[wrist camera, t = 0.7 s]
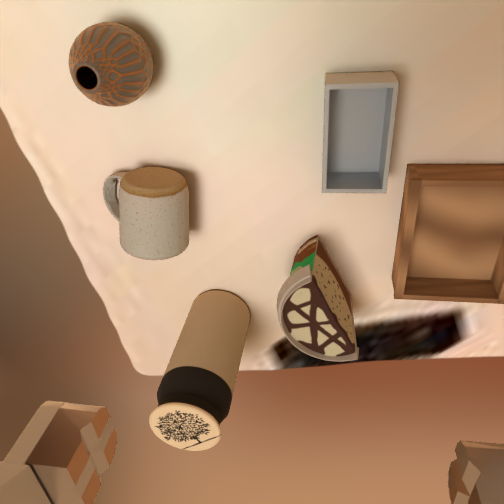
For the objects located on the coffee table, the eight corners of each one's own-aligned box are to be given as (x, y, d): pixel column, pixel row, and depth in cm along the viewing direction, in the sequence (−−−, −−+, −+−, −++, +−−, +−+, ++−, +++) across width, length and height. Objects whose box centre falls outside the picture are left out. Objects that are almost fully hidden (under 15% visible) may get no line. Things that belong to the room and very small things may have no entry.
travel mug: (181, 299, 59) (130, 414, 44) (230, 280, 56) (193, 396, 41) (213, 339, 62) (176, 458, 47) (261, 323, 59) (237, 445, 44)
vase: (121, 106, 45) (81, 134, 38) (79, 40, 42) (27, 57, 35) (175, 75, 43) (144, 99, 35) (134, 3, 40) (91, 12, 32)
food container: (265, 243, 52) (252, 296, 44) (312, 224, 49) (308, 276, 41) (310, 315, 57) (307, 375, 49) (355, 301, 55) (359, 362, 46)
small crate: (325, 73, 40) (324, 84, 37) (392, 71, 39) (399, 82, 36) (322, 174, 46) (321, 192, 42) (381, 174, 45) (386, 193, 41)
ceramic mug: (196, 167, 48) (174, 198, 41) (197, 231, 52) (177, 268, 46) (104, 155, 49) (69, 183, 42) (113, 218, 53) (82, 252, 47)
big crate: (405, 164, 44) (411, 180, 41) (530, 163, 42) (547, 181, 39) (390, 277, 52) (394, 298, 48) (494, 281, 50) (506, 303, 47)
